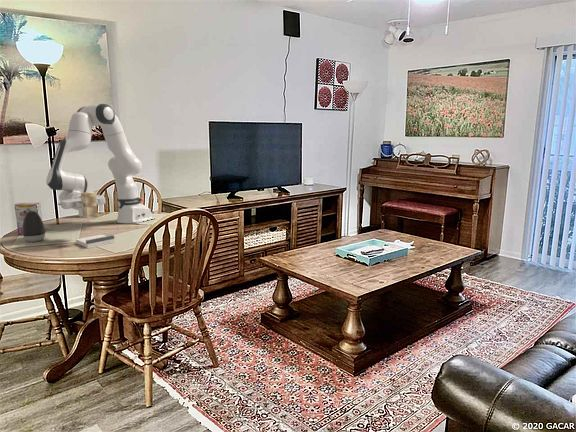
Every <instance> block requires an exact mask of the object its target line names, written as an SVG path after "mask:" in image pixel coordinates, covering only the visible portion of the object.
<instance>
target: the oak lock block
mask: <svg viewBox="0 0 576 432" xmlns="http://www.w3.org/2000/svg"><path fill="white" fill-rule="evenodd" d="M96 195H97V192H95V191H86V192H85V193H81V200H82V203H85V207H82V210H83V217H82V218H84V219H86V220H87V219H88V220H89V219H95V218H99V215H98V205H97V201H96Z"/></svg>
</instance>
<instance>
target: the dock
mask: <svg viewBox="0 0 576 432" xmlns="http://www.w3.org/2000/svg"><path fill="white" fill-rule="evenodd" d="M115 242H116V241H115V235H113V234H112V235H108V236H107V235H104V234H98V235H93V236H92V235H91V236H88V237H82V238H77V239H75V243H76V245H79V246H82V247H84V248H87V249H91V248H95V247H102V246H105V245H109V244H114V243H115Z"/></svg>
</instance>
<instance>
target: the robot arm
mask: <svg viewBox="0 0 576 432" xmlns="http://www.w3.org/2000/svg"><path fill="white" fill-rule="evenodd" d="M94 126H95V127H97V126H100V127H101V130H102V134H103V137H104V140H105V143H106V145H107V148H108V150H109V151H110V152H111V154H113V157H111V158H109V160H108V163H107V165H108V166H107V167H108V169H109V171H111V173H112V177H113V179H114V182H115V186H116V194H117V197H116V198H117V199H116V202H117V203H116V204H117V209H118V211H117V218H116V222H117V223H118V224H140V223H144V222H148V221H147V220H149V221H152V220H151V219H153V220H155V219H154V218H156V216H155V215H152V212H151V209H150V208H149V207H148V206H146V205H144V204H143V203H142V202H144V200H145V198H143V197H138V187H137V184H136V182H135V180H134V178H133V176H135V175H138V174H140V173H141V171H142V169H143V164H142V161H141V160H140V159H139V158H138V157H137V156H136V154H135V153H134V151H133V150H132V148H131V147H130V144H129V142H128V139H127V136H126V133H125V131H124V128H123V124H122V123H121V121H120V119H119V118H118V116H117V115H116V114H115V111H114V109H113V108H112V106H110V105H109V104H106V103H98V104H96V103H94V104H91V105H87V106H81V107H80V108H79V109H78V110H77V111H76V112H74V113H73V114H72V115H71V117H70V120H69V124H68V129H67V130H68V131H67V135H66V137H65V138H64V139H61V140H60V142H59V143H58V145H57V148H56V150H55V154H54V158H53V161H52V163H51V166H50V169H49V172H48V174H47V177H46V185H47V186H48V187H49V189H50V190H53V191H61V192H60V193H59V195H58V199H59V202H58V203H57V205H58V206H61V209H63V210H71V209H73V210H77V211H78V210H82V207H85V203H82V200H81V193H85V192H87V190H88V186H89V185H88V180H87V179H86V176H85V175H84V174H80V173H75V172H69V171H64V170H62V168H63V166H64V163H65V160H66V156H67V154H69V153H72V152H77V151H78V152H79V151H82V150H86V149H87V148H88V147H89V146H90V144H91V142H92V131H93V127H94ZM96 201H97V206H101V205H105V204H106V197H105V196H104V195H101V194H96ZM143 221H144V222H143Z"/></svg>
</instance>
